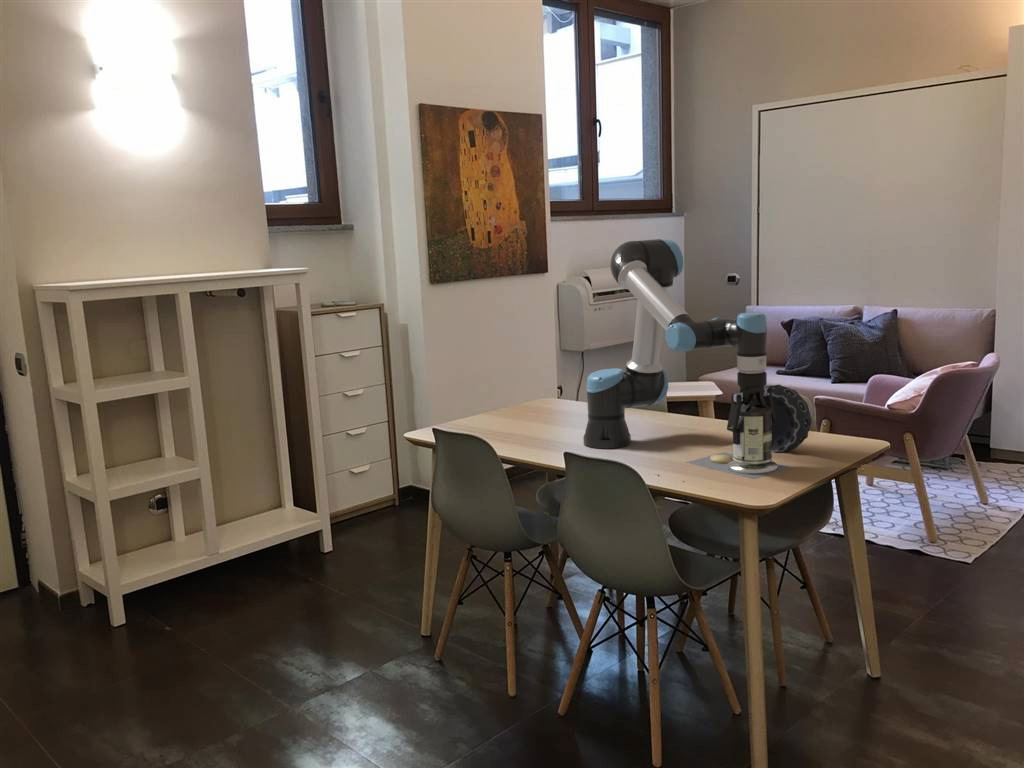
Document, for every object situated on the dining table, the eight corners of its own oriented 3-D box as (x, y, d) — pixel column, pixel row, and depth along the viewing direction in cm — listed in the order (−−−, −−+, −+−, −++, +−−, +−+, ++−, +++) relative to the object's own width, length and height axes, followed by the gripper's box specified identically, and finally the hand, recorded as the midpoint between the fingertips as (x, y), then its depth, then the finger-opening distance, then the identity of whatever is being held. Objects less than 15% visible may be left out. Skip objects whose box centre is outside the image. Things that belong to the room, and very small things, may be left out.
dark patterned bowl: (750, 445, 269) (750, 380, 266) (815, 452, 256) (815, 385, 253) (735, 452, 261) (734, 386, 258) (801, 460, 248) (801, 391, 245)
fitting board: (685, 467, 247) (685, 458, 247) (724, 457, 256) (724, 448, 256) (753, 484, 228) (753, 475, 228) (792, 472, 237) (792, 463, 237)
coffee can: (759, 453, 244) (759, 403, 241) (779, 461, 234) (779, 410, 231) (725, 457, 241) (725, 406, 239) (744, 466, 231) (744, 413, 229)
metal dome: (717, 468, 240) (717, 464, 239) (749, 459, 247) (749, 456, 247) (755, 477, 229) (755, 473, 229) (787, 468, 236) (787, 464, 236)
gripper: (734, 378, 224) (734, 462, 228) (790, 367, 237) (790, 447, 241) (712, 375, 230) (712, 457, 234) (768, 364, 243) (768, 442, 247)
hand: (752, 452), depth 237 cm, fingers closed on coffee can, 10 cm apart
